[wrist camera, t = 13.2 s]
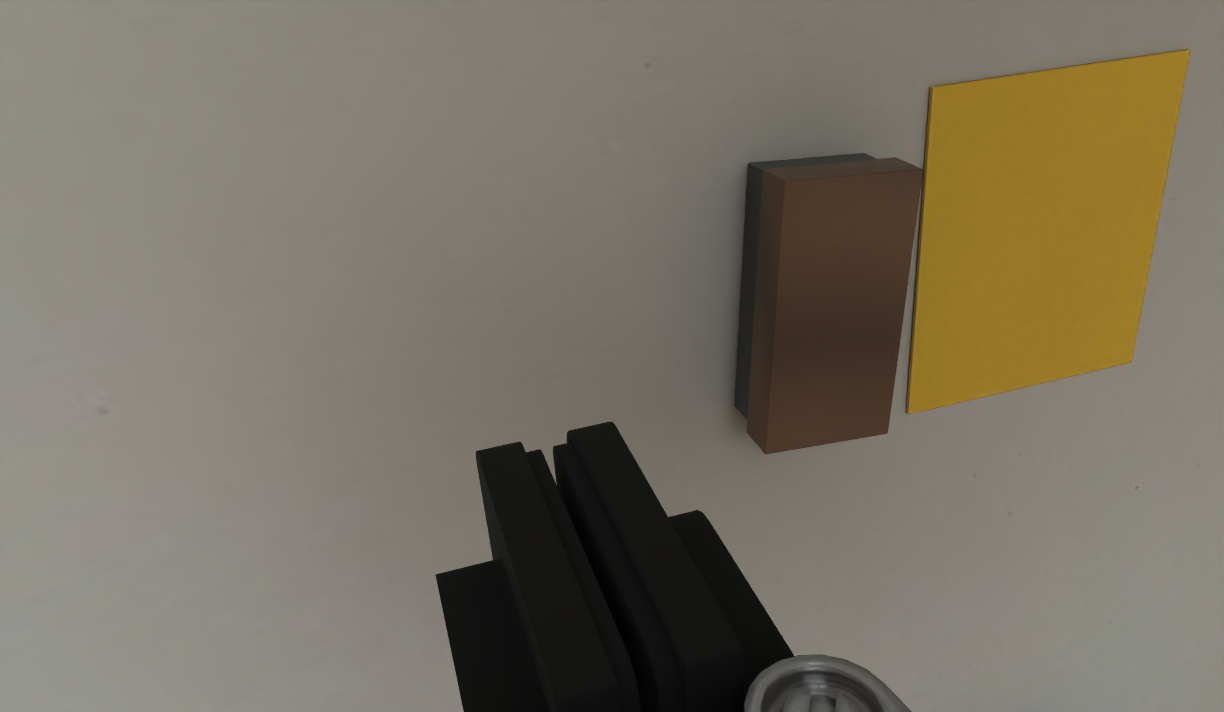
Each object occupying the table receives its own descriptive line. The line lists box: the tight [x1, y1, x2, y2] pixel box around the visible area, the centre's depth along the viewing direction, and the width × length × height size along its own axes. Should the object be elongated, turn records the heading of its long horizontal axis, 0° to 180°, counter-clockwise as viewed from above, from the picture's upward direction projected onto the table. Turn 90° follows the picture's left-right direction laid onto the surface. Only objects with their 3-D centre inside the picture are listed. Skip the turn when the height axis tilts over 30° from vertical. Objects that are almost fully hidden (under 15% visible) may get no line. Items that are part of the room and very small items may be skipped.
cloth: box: [906, 49, 1190, 414], centre depth 35 cm, size 12×10×1 cm
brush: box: [735, 153, 923, 454], centre depth 32 cm, size 9×4×3 cm, turn 0°
